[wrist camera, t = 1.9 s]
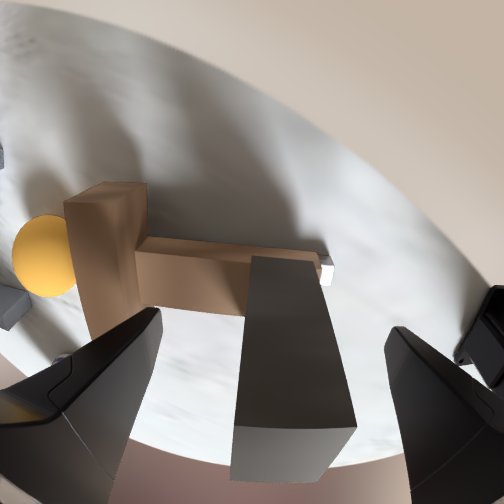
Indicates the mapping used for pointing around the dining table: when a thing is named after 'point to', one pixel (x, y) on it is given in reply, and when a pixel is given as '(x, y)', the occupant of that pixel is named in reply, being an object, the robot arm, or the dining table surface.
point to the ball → (44, 256)
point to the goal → (11, 297)
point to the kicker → (228, 303)
